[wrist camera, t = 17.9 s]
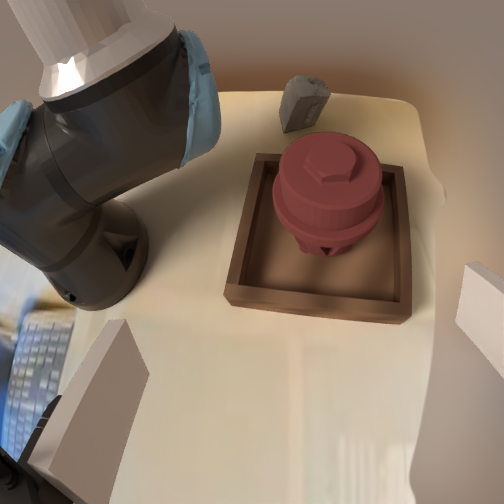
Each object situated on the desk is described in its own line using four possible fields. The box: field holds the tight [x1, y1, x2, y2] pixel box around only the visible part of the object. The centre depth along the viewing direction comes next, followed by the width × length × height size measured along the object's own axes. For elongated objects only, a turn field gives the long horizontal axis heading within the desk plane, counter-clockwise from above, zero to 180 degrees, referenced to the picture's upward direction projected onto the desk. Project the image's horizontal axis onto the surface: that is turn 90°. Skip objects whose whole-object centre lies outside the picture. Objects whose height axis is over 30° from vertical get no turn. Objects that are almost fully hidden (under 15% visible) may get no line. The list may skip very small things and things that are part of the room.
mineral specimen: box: [279, 75, 331, 133], centre depth 40 cm, size 7×9×8 cm
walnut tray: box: [223, 153, 412, 325], centre depth 32 cm, size 18×18×4 cm
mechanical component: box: [272, 132, 384, 257], centre depth 27 cm, size 12×10×10 cm
